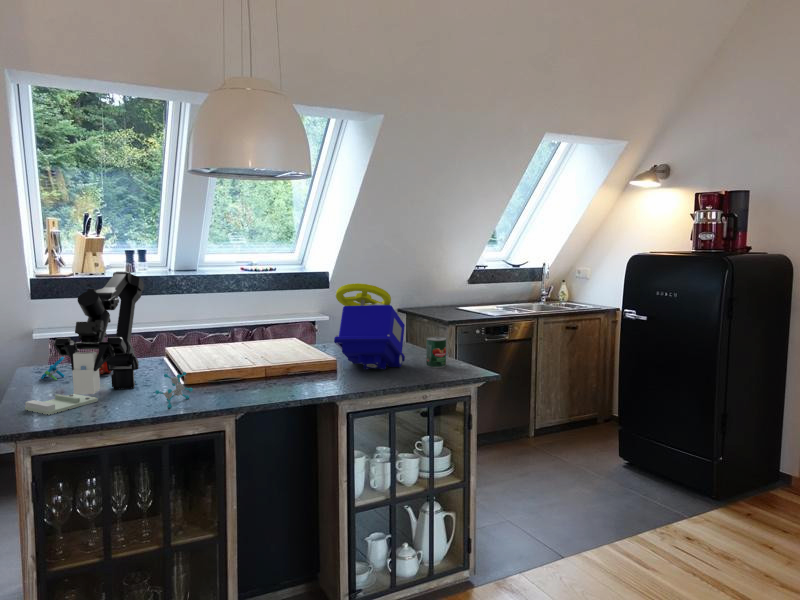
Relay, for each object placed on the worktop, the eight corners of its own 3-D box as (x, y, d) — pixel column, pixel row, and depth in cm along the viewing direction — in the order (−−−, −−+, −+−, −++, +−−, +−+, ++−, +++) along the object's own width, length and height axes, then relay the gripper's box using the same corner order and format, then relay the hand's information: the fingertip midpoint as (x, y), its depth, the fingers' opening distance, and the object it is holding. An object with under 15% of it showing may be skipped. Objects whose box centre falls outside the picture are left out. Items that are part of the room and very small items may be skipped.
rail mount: (74, 396, 195) (73, 389, 195) (97, 401, 191) (97, 393, 190) (25, 410, 181) (24, 402, 181) (49, 415, 176) (48, 407, 176)
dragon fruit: (112, 373, 234) (101, 385, 222) (92, 361, 232) (79, 373, 220) (124, 356, 233) (113, 367, 221) (104, 344, 230) (92, 355, 219)
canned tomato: (440, 368, 237) (440, 341, 236) (422, 366, 241) (422, 339, 240) (449, 365, 244) (449, 337, 242) (432, 362, 248) (432, 336, 246)
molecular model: (175, 425, 189) (203, 391, 200) (177, 400, 179) (206, 367, 190) (142, 407, 189) (171, 375, 200) (143, 382, 180) (174, 349, 191)
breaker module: (80, 390, 178) (78, 351, 177) (100, 389, 179) (98, 351, 177) (73, 394, 174) (71, 354, 172) (94, 393, 174) (91, 354, 173)
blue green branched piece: (47, 370, 224) (65, 351, 223) (60, 380, 226) (78, 362, 225) (33, 381, 214) (51, 362, 213) (47, 392, 215) (65, 373, 214)
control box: (384, 355, 218) (393, 281, 231) (316, 355, 226) (328, 283, 238) (403, 378, 241) (410, 309, 253) (340, 377, 248) (350, 310, 260)
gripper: (54, 310, 176) (38, 356, 167) (121, 310, 178) (109, 354, 169) (67, 332, 185) (53, 377, 175) (131, 331, 187) (121, 375, 177)
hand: (83, 370), depth 174 cm, fingers closed on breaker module, 5 cm apart
